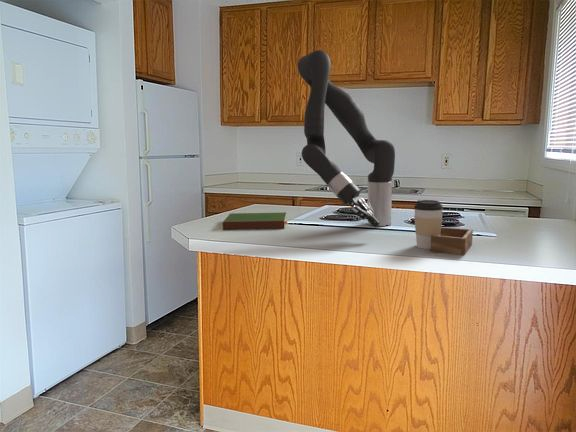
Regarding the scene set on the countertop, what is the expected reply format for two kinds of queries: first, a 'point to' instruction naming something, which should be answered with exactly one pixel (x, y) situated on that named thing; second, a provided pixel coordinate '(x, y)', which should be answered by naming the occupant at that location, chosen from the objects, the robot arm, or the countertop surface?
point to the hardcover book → (254, 221)
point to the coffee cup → (427, 221)
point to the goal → (452, 241)
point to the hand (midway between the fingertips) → (377, 225)
